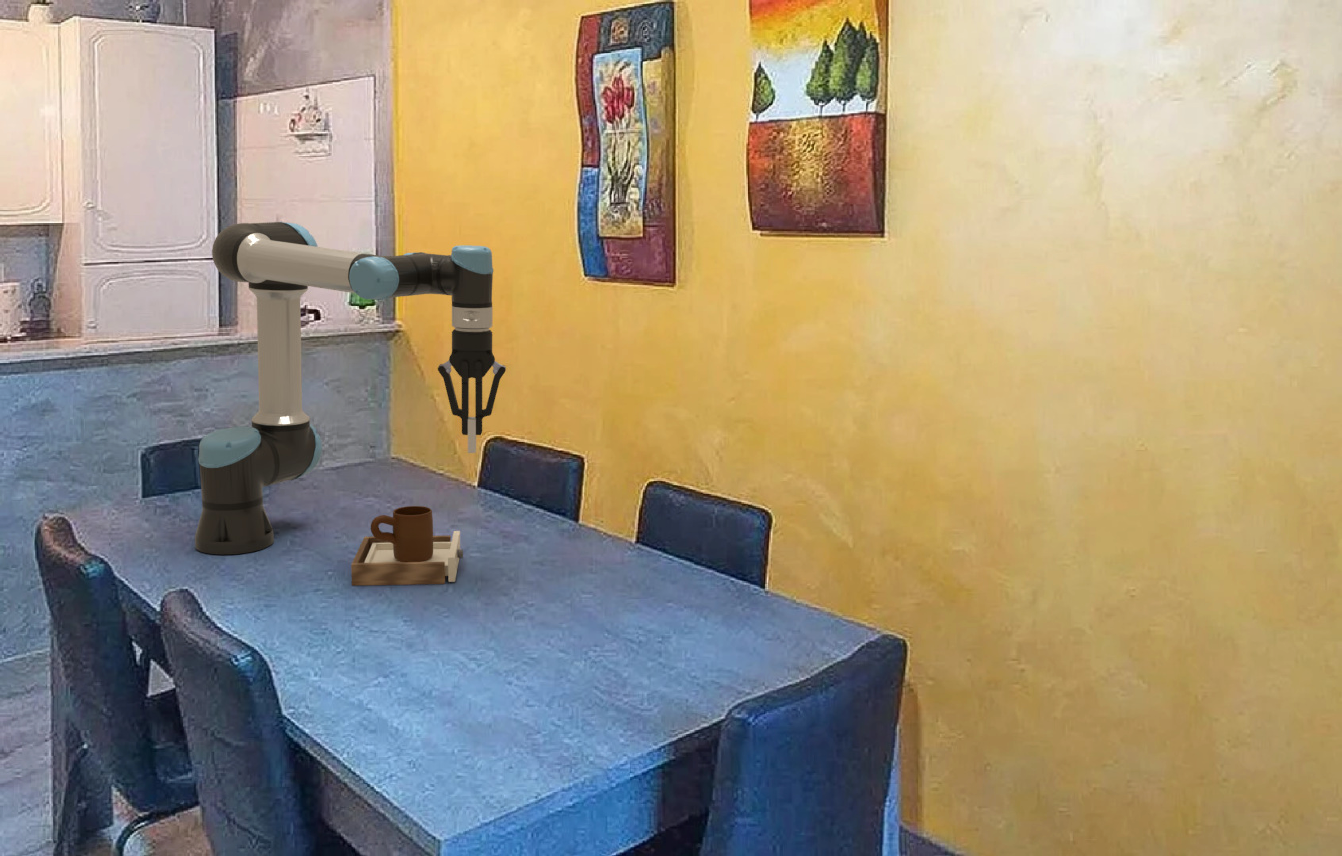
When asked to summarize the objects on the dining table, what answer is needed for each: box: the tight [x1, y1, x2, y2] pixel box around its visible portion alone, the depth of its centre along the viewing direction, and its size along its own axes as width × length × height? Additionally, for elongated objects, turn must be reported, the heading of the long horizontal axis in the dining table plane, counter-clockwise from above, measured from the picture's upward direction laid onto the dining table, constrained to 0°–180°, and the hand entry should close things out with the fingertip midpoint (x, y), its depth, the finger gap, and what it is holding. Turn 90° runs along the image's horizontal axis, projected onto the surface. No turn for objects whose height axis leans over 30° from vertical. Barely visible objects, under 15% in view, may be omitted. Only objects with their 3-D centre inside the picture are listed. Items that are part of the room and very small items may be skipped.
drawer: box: [364, 530, 464, 583], centre depth 231 cm, size 18×18×5 cm
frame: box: [350, 534, 452, 586], centre depth 231 cm, size 17×18×4 cm
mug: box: [370, 505, 434, 562], centre depth 231 cm, size 12×8×9 cm, turn 119°
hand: (472, 451), depth 230 cm, fingers closed
